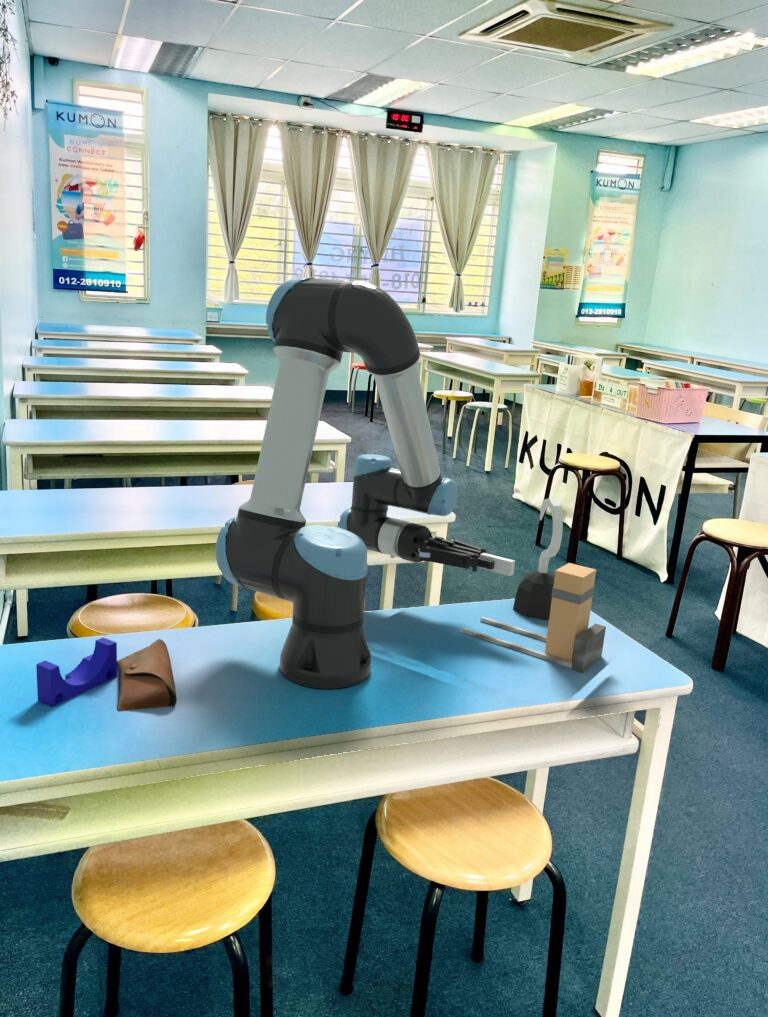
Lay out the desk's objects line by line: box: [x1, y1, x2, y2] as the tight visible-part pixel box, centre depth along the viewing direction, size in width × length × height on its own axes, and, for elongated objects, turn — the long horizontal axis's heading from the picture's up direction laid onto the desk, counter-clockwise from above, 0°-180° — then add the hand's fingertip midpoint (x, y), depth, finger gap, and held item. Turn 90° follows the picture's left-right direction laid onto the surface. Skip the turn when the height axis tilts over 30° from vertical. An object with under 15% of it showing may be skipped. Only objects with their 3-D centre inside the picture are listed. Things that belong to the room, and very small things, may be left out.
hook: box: [512, 498, 564, 621], centre depth 156 cm, size 11×11×25 cm
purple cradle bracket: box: [35, 637, 118, 708], centre depth 117 cm, size 12×4×6 cm, turn 150°
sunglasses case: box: [117, 638, 177, 712], centre depth 121 cm, size 18×7×7 cm
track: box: [460, 616, 607, 674], centre depth 141 cm, size 24×9×7 cm, turn 54°
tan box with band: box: [544, 562, 597, 662], centre depth 136 cm, size 5×6×16 cm
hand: (512, 568), depth 142 cm, fingers closed
